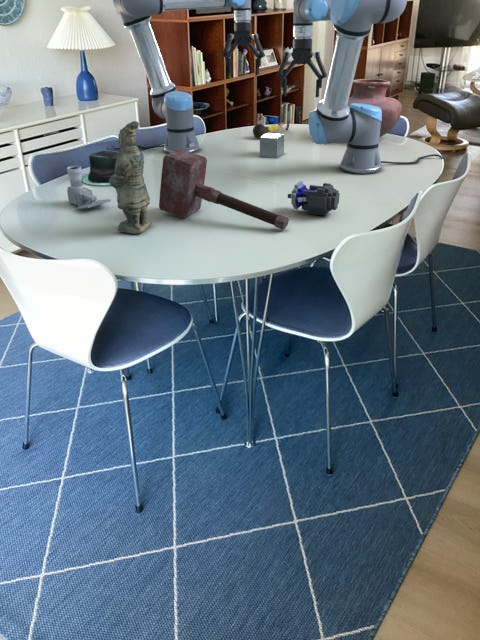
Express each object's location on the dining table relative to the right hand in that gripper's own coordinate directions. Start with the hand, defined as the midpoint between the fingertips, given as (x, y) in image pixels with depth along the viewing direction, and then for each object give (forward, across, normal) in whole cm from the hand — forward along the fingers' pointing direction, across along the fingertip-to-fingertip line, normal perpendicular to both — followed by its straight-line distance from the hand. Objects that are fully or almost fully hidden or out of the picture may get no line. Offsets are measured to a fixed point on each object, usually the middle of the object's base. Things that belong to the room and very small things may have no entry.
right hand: (300, 96), depth 225 cm
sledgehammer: (+23, +1, -87) cm, 90 cm away
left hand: (-5, -34, +24) cm, 42 cm away
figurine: (+22, -22, +29) cm, 42 cm away
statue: (+23, -21, -101) cm, 106 cm away
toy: (+23, +24, -72) cm, 80 cm away
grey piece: (+23, -47, -88) cm, 102 cm away
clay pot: (+22, +22, +32) cm, 45 cm away
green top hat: (+22, -57, -58) cm, 85 cm away
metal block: (+22, -10, -8) cm, 25 cm away
